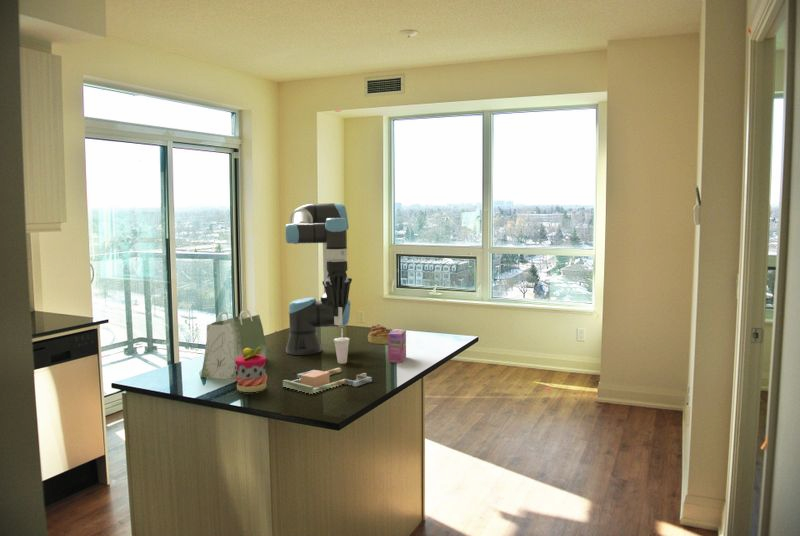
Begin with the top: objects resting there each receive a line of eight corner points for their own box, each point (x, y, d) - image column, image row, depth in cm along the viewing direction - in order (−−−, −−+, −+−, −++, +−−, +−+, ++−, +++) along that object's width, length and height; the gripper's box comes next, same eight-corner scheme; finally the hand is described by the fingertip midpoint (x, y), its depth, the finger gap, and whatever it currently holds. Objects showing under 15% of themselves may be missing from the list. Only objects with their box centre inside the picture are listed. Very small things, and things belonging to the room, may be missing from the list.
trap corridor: (329, 369, 238) (329, 363, 237) (377, 379, 222) (376, 372, 221) (273, 384, 217) (273, 378, 217) (321, 397, 201) (321, 390, 201)
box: (401, 362, 246) (401, 333, 245) (387, 362, 247) (387, 333, 246) (406, 357, 256) (406, 329, 255) (393, 356, 258) (392, 328, 257)
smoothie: (337, 365, 244) (336, 330, 243) (331, 361, 250) (331, 327, 249) (352, 363, 247) (351, 328, 246) (346, 359, 253) (345, 326, 252)
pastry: (376, 337, 299) (376, 321, 299) (402, 340, 291) (401, 323, 290) (359, 342, 288) (359, 325, 288) (386, 345, 280) (385, 328, 279)
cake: (229, 391, 209) (227, 348, 208) (247, 383, 219) (246, 342, 218) (255, 394, 205) (254, 350, 204) (273, 386, 215) (271, 344, 214)
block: (301, 387, 214) (301, 375, 213) (316, 382, 220) (316, 370, 220) (314, 390, 210) (313, 377, 210) (329, 384, 217) (329, 372, 216)
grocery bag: (237, 358, 259) (235, 303, 257) (268, 359, 257) (266, 304, 255) (199, 378, 228) (196, 316, 226) (234, 379, 225) (231, 317, 223)
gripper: (331, 262, 214) (332, 328, 217) (356, 259, 224) (358, 323, 227) (316, 261, 219) (318, 326, 222) (342, 258, 229) (343, 321, 231)
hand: (338, 324), depth 224 cm, fingers closed
